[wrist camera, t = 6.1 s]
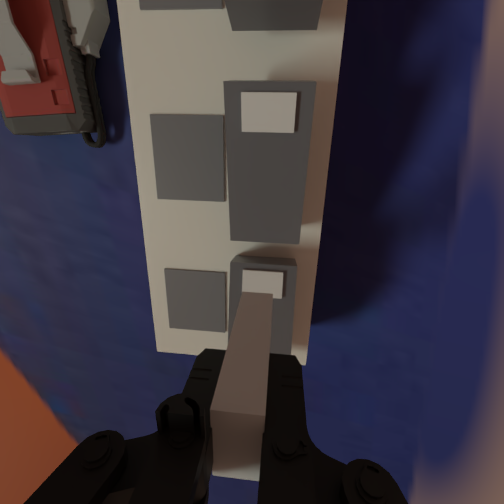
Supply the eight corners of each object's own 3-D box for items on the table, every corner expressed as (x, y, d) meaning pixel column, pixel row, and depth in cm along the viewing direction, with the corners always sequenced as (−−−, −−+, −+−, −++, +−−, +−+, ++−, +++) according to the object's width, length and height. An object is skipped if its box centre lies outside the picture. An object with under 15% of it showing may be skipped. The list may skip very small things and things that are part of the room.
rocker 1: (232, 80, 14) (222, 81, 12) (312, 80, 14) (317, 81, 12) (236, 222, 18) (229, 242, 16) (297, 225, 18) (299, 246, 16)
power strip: (139, -177, 16) (76, -319, 11) (355, -194, 15) (389, -360, 10) (178, 316, 28) (155, 353, 23) (301, 327, 27) (305, 367, 22)
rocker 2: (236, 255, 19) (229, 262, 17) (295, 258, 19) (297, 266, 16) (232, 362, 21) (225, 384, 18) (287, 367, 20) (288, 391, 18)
